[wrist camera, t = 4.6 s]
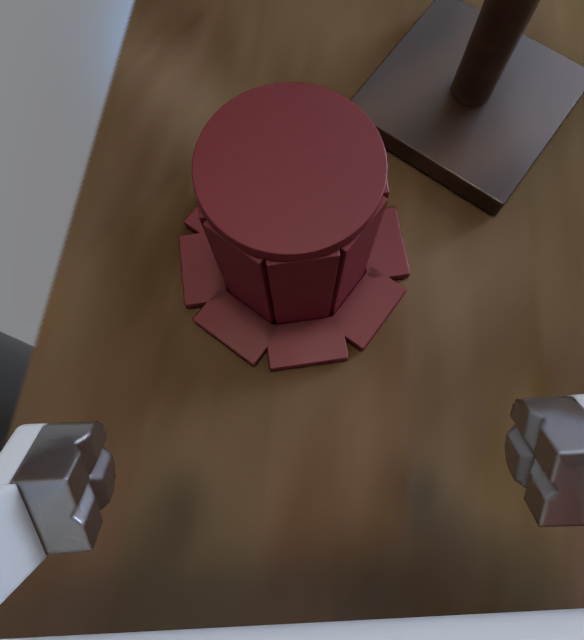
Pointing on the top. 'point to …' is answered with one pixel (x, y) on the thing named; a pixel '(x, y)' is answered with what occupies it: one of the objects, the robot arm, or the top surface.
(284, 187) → the hat
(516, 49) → the hat stand
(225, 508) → the top surface
